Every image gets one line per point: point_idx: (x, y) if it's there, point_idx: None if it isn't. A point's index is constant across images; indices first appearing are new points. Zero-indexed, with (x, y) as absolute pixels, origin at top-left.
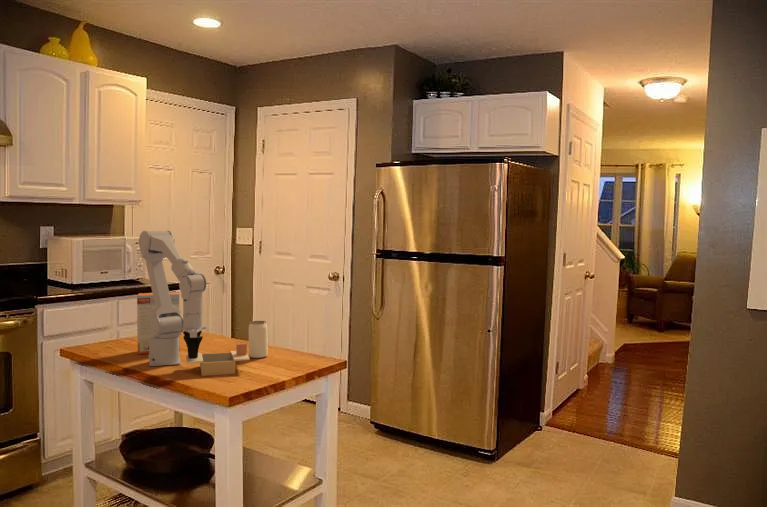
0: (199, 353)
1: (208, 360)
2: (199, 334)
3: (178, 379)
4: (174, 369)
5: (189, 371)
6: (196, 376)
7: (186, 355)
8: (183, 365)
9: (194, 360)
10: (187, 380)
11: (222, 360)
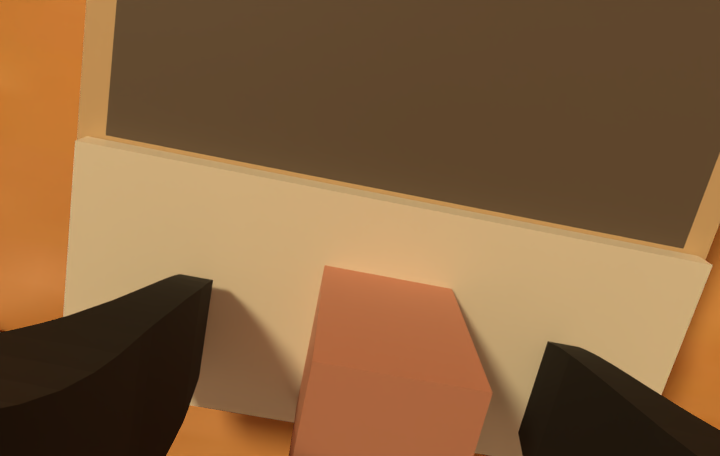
0: (156, 196)
1: (606, 146)
2: (33, 428)
3: None
4: (196, 414)
5: None
6: None
7: (225, 407)
8: (41, 297)
9: None
10: (703, 388)
11: None
